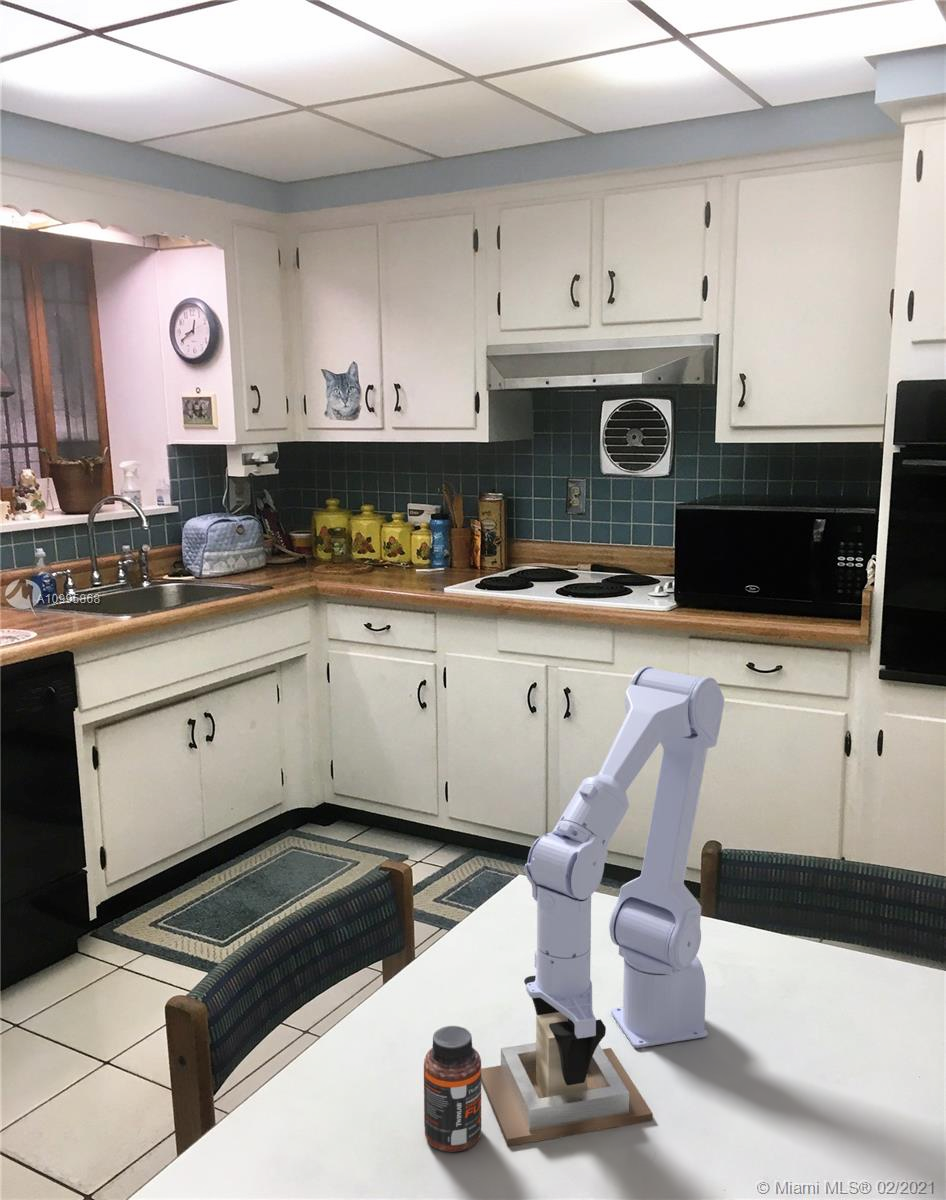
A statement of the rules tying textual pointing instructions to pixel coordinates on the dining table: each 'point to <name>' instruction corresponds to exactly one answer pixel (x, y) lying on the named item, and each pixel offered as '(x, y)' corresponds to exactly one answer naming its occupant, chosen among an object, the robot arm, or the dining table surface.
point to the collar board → (560, 1098)
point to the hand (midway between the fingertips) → (562, 1060)
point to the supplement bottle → (452, 1091)
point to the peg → (551, 1059)
